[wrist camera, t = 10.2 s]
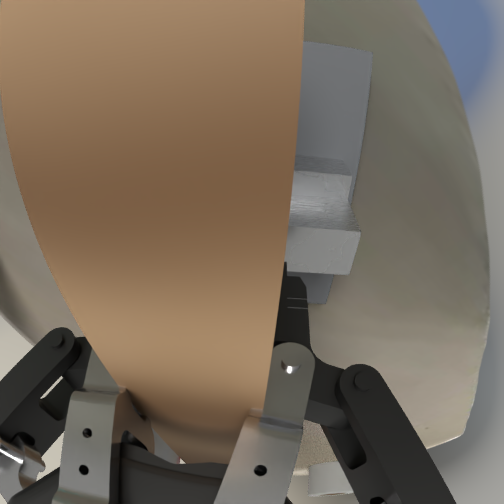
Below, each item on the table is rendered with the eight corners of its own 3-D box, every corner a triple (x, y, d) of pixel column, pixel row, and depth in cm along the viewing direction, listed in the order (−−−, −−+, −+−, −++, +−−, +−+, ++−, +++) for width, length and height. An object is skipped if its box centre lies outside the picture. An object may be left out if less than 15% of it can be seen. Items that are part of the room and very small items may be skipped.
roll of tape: (308, 470, 75) (307, 497, 67) (308, 463, 66) (307, 494, 58) (353, 466, 73) (354, 493, 64) (360, 457, 64) (361, 489, 55)
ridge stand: (324, 290, 23) (332, 363, 18) (168, 278, 24) (141, 345, 18) (365, 53, 12) (418, 50, 7) (141, 49, 13) (70, 52, 8)
